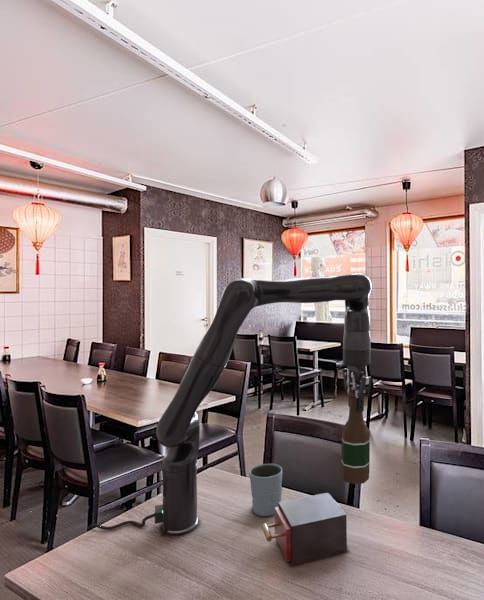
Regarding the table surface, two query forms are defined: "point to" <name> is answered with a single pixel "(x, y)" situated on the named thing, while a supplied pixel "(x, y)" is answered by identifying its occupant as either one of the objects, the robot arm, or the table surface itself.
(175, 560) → the table surface
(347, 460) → the beer bottle
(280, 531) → the drawer
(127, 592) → the table surface
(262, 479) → the drinking glass
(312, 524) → the cabinet
